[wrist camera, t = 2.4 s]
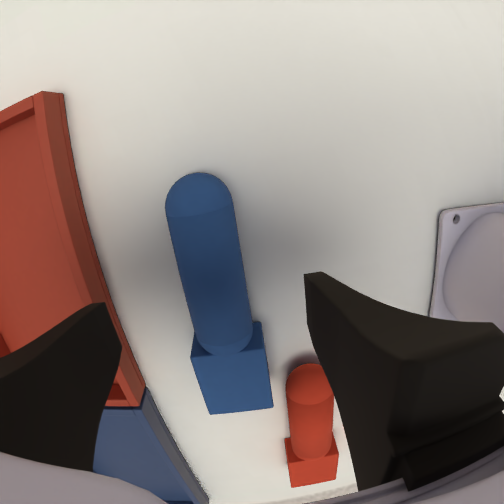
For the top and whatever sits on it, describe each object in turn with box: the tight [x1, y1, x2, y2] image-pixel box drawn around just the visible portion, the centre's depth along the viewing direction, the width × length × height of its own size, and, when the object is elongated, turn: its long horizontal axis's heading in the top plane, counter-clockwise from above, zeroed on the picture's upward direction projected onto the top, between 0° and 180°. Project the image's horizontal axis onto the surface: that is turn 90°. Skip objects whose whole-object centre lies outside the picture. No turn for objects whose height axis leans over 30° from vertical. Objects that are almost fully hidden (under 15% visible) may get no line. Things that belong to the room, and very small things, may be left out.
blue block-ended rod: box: [165, 173, 274, 415], centre depth 15 cm, size 13×4×3 cm, turn 8°
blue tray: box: [93, 388, 209, 504], centre depth 21 cm, size 10×17×2 cm, turn 8°
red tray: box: [0, 91, 146, 406], centre depth 14 cm, size 10×17×2 cm, turn 8°
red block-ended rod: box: [285, 363, 339, 488], centre depth 19 cm, size 13×4×3 cm, turn 8°
